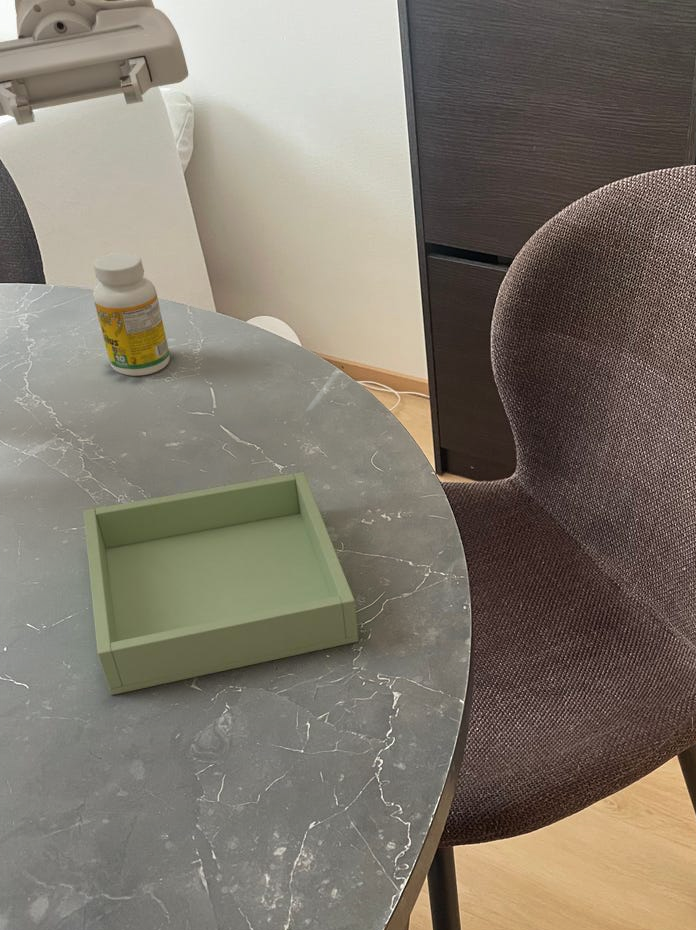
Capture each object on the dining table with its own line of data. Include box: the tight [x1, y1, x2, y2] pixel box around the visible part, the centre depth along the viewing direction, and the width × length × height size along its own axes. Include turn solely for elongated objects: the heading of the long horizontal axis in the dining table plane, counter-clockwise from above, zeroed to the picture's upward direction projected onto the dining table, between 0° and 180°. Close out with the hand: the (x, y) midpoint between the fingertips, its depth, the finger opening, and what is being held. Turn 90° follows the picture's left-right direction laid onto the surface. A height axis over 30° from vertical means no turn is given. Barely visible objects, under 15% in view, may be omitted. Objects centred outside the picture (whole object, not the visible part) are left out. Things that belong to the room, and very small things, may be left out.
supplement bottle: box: [92, 252, 171, 377], centre depth 93 cm, size 5×5×10 cm
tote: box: [82, 471, 359, 696], centre depth 70 cm, size 16×16×4 cm
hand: (78, 104), depth 90 cm, fingers open, 8 cm apart
